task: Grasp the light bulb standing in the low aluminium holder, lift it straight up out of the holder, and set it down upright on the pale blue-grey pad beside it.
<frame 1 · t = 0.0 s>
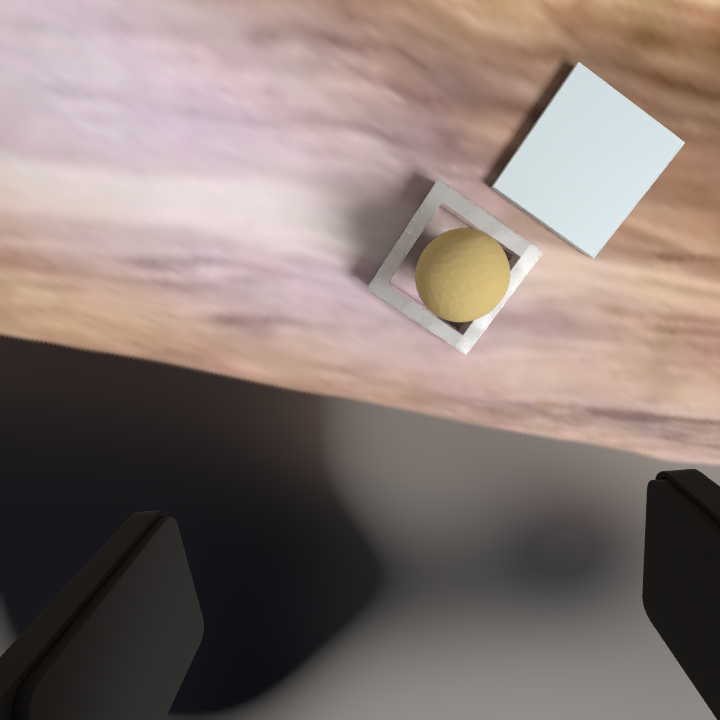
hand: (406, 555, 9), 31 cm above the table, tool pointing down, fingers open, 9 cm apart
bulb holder: (448, 268, 38), on the table
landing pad: (581, 167, 35), on the table
light bulb: (448, 268, 38), resting in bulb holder
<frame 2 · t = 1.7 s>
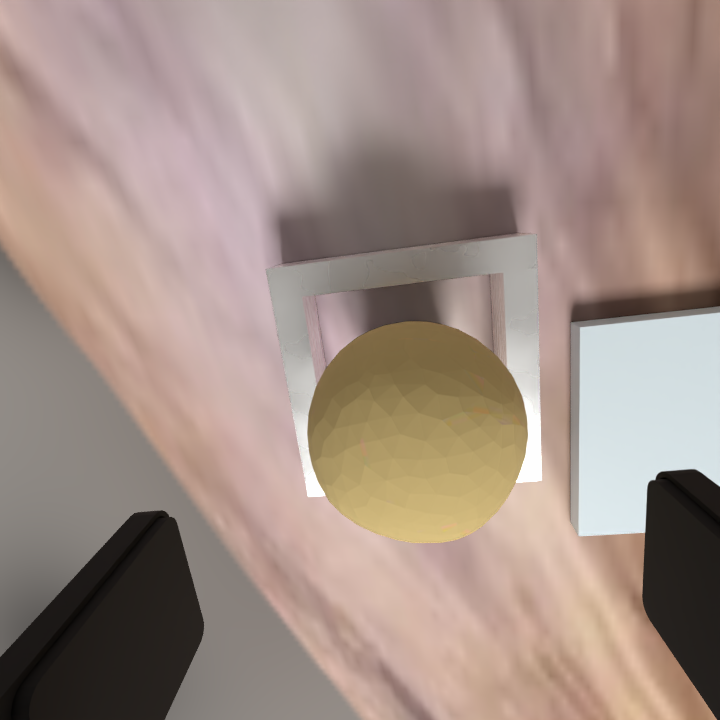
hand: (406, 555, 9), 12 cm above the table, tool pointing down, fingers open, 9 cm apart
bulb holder: (408, 361, 20), on the table
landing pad: (687, 419, 20), on the table
light bulb: (408, 360, 20), resting in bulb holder
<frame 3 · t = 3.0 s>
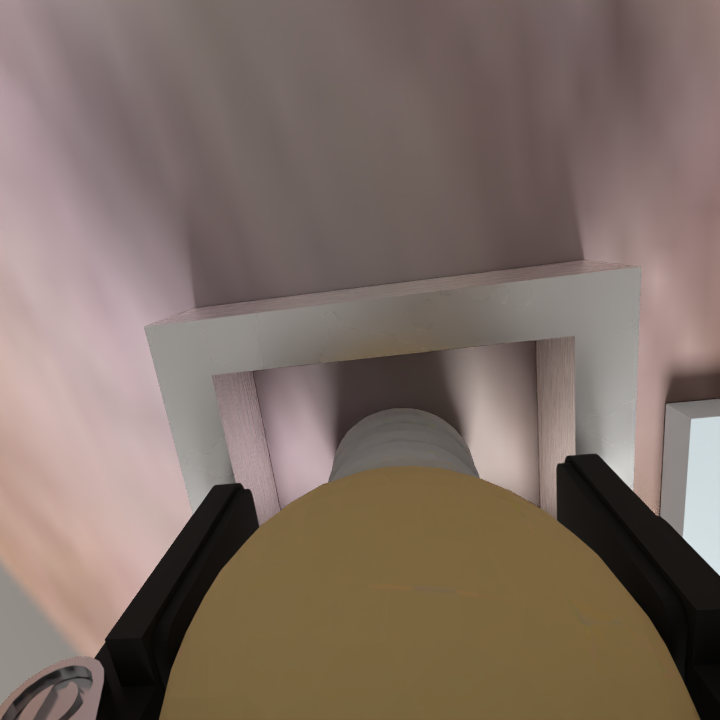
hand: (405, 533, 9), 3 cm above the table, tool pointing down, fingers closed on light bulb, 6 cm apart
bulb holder: (401, 460, 12), on the table
light bulb: (401, 457, 13), resting in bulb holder, touching gripper
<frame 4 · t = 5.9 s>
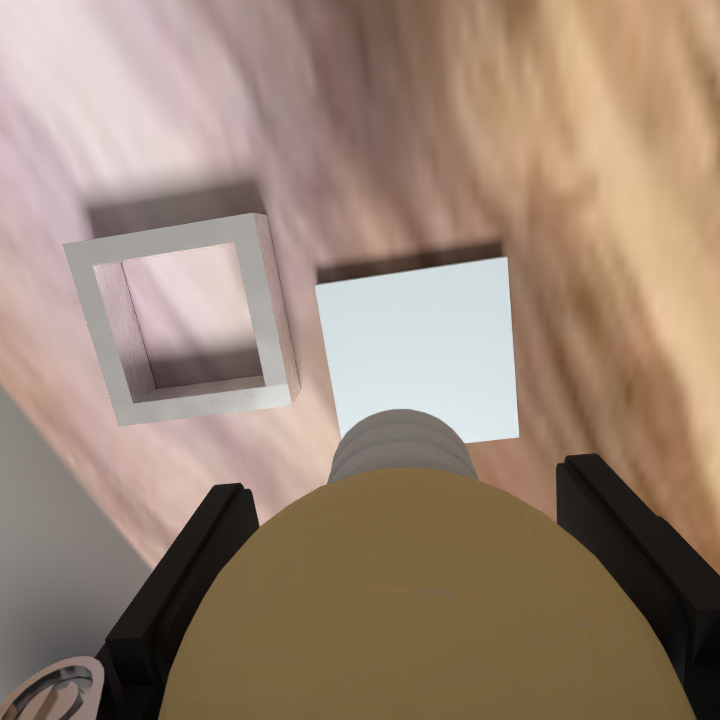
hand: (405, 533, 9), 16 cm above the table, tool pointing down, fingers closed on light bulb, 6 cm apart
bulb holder: (200, 319, 25), on the table
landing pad: (418, 359, 25), on the table
light bulb: (400, 458, 13), point 13 cm above the table, touching gripper
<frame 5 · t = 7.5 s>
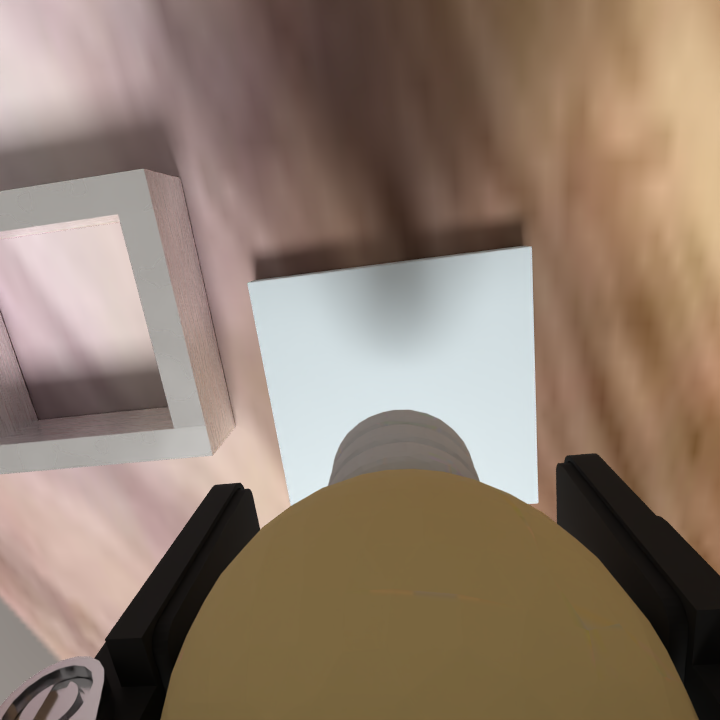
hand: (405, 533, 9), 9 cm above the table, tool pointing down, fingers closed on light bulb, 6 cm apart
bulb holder: (93, 326, 18), on the table
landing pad: (399, 389, 18), on the table
light bulb: (401, 459, 13), point 5 cm above the table, touching gripper
when the fingers open (5 cm above the table, at t = 8.7 s): light bulb stays where it is, resting on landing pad.
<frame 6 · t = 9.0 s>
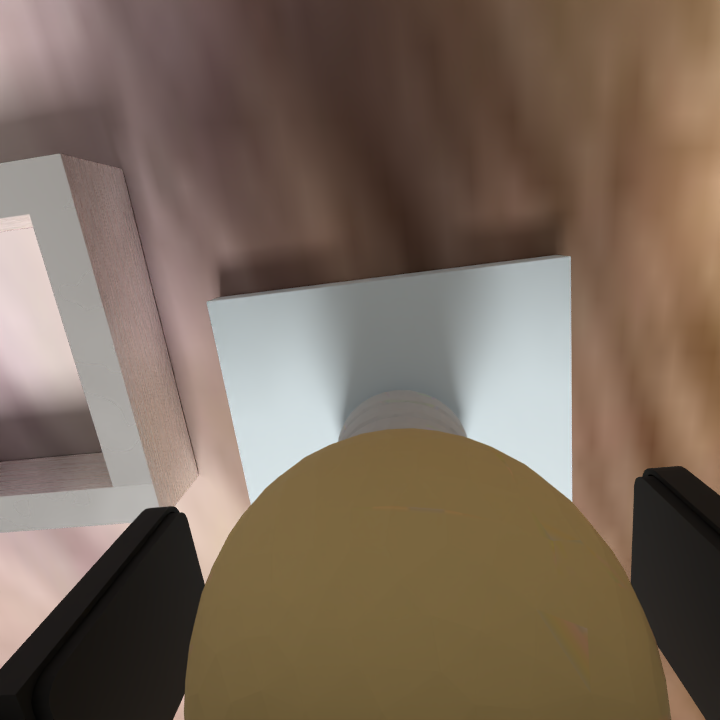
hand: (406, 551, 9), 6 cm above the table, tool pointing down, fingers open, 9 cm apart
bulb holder: (20, 353, 15), on the table
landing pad: (399, 431, 14), on the table
light bulb: (401, 438, 14), point 1 cm above the table, touching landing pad
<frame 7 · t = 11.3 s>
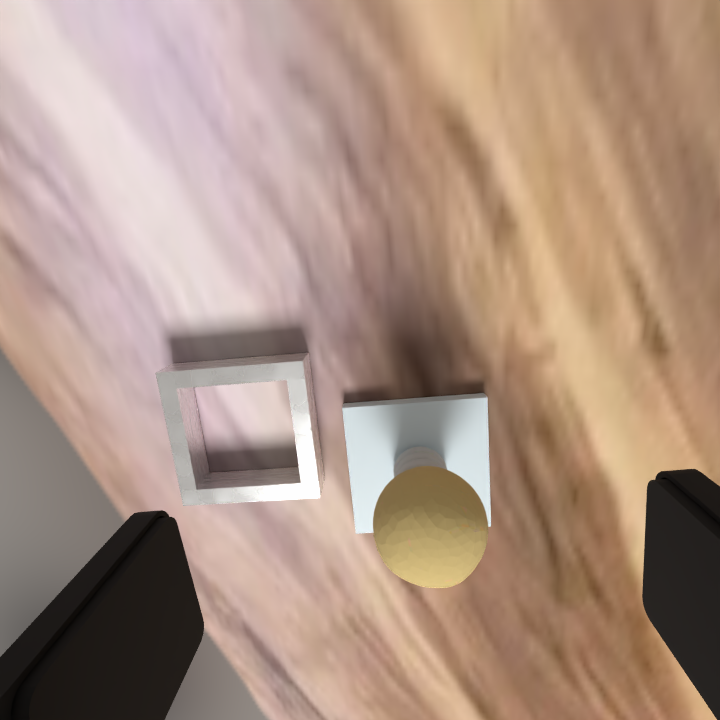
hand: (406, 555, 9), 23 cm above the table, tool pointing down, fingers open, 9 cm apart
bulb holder: (250, 423, 33), on the table
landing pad: (417, 462, 33), on the table
light bulb: (418, 465, 32), point 1 cm above the table, touching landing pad
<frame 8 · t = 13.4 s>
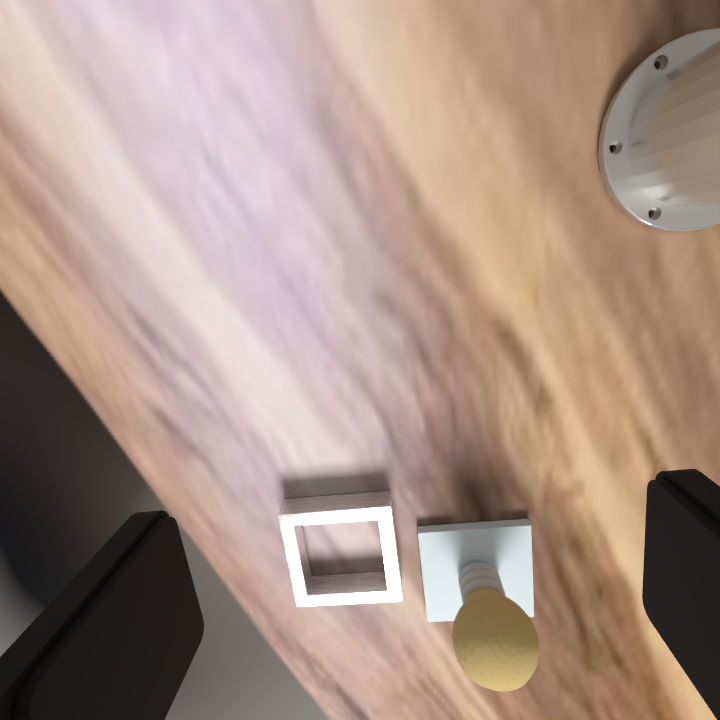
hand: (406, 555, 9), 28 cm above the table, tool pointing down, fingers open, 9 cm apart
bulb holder: (344, 540, 42), on the table
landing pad: (475, 568, 42), on the table
light bulb: (477, 572, 41), point 1 cm above the table, touching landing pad
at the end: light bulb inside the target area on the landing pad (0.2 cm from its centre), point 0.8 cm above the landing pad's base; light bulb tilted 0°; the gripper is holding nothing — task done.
